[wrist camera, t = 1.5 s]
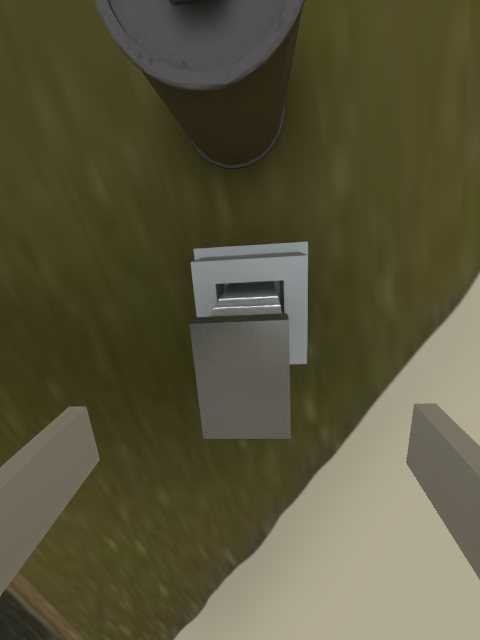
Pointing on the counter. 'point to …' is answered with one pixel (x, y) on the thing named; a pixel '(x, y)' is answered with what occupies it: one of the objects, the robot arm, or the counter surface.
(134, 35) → the canister
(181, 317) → the counter surface
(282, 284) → the stand base
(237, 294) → the column
